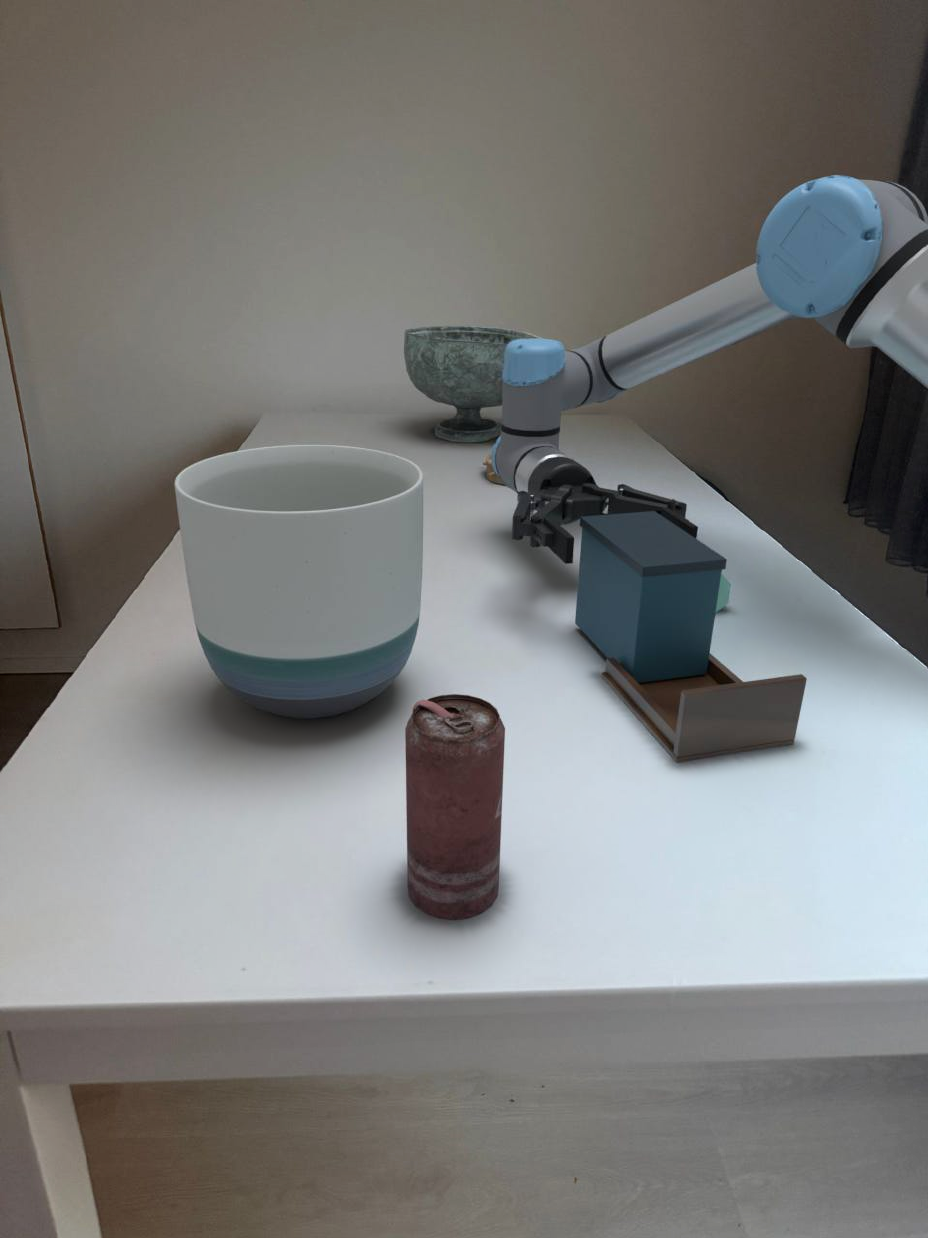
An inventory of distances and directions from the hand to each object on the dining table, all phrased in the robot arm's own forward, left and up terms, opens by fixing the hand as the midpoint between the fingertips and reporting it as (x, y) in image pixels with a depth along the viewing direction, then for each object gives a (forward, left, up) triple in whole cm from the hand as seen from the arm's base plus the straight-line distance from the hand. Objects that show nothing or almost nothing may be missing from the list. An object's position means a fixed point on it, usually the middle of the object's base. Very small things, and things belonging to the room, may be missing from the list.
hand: (633, 545), depth 91 cm
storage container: (-2, +3, -10) cm, 11 cm away
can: (+8, +41, -11) cm, 44 cm away
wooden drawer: (-7, +12, -11) cm, 18 cm away
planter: (+27, +19, -11) cm, 35 cm away
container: (-5, -22, -11) cm, 25 cm away
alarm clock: (+21, -60, -11) cm, 64 cm away
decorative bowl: (+38, -87, -11) cm, 95 cm away
